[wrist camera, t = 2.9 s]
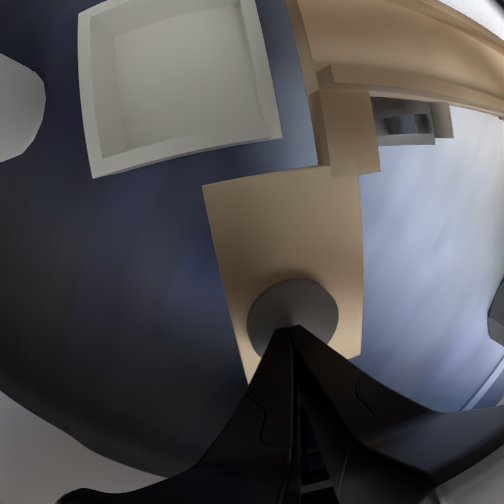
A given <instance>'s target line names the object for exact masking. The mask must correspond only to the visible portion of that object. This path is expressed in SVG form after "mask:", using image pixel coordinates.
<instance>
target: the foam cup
mask: <svg viewBox="0 0 504 504" xmlns="http://www.w3.org/2000/svg"><path fill="white" fill-rule="evenodd" d="M45 102H46V95H45V89H44V82H43V81H42V79H41V78H40V77H39V76H38V75H37V73H36V72H34V71H32V70H31V69H29V68H28V67H26V66H24V65H22V64H20V63H18V62H16V61H14V60H12V59H10V58H8V57H7V56H5V55H3V54H1V53H0V162H3V161H5V160H8V159H11V158H13V157H15V156H18V155H20V154H22V153H23V152H24V151H25V150H26V149H27V147H28V146H29V145H30V144H31V143H32V142H33V140H34V139H35V136H36V134H37V131H38V129H39V127H40V125H41V122H42V120H43V114H44V108H45Z"/></svg>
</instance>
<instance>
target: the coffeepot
mask: <svg viewBox="0 0 504 504" xmlns="http://www.w3.org/2000/svg"><path fill="white" fill-rule="evenodd" d="M488 330H489V332H490V338H491V339H492V340H494V341H496V342H497V343H499V344H501V345H502V346H504V280H503V281H502V283H501V285H500V287H499V289H498V291H497V293H496V295H495V297H494V300H493V303H492V305H491V309H490V312H489V317H488Z"/></svg>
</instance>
